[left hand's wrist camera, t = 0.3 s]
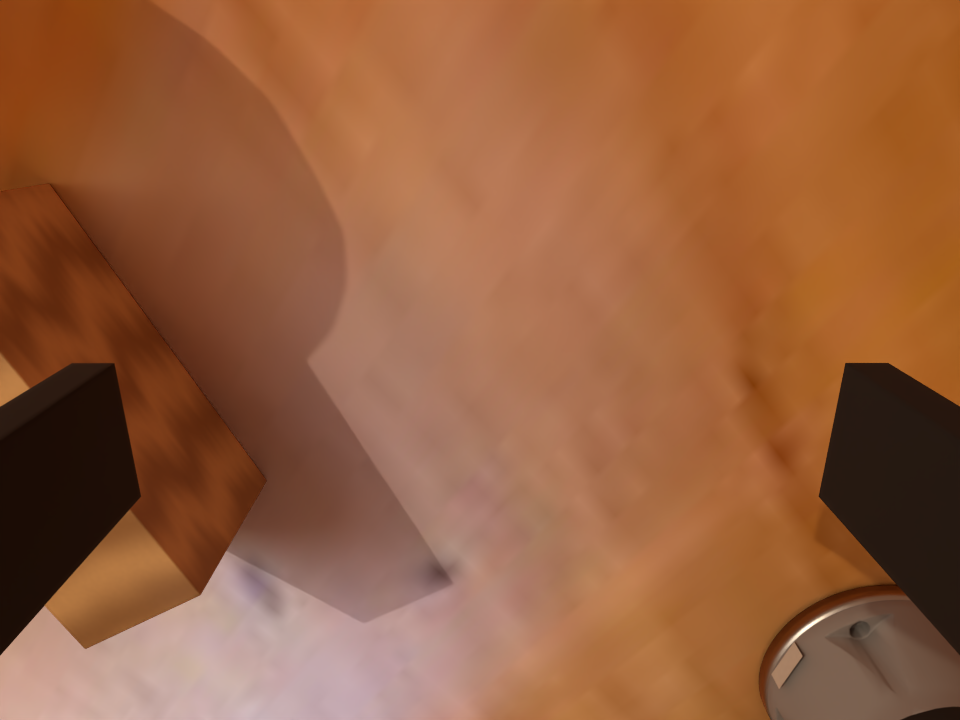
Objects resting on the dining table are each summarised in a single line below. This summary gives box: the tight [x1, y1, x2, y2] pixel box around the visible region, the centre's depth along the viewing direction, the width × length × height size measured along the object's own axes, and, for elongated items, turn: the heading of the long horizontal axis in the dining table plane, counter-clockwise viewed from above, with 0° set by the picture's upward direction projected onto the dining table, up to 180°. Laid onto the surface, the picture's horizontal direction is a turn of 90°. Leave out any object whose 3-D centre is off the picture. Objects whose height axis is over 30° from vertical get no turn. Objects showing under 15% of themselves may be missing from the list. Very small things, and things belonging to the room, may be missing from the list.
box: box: [0, 184, 266, 649], centre depth 36 cm, size 22×7×11 cm, turn 28°
